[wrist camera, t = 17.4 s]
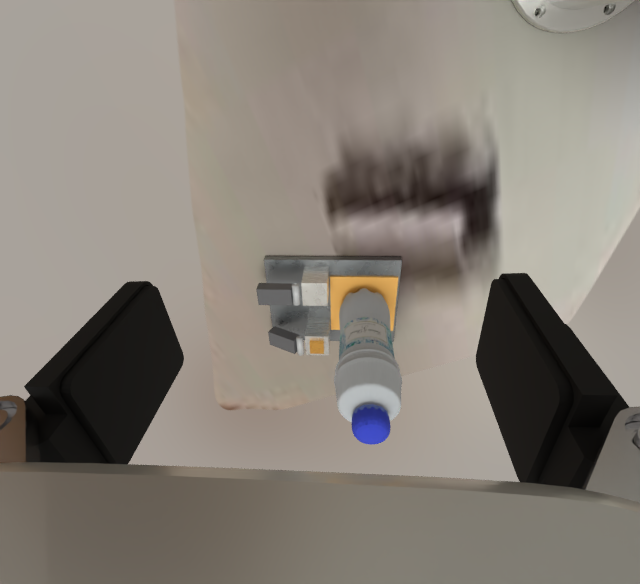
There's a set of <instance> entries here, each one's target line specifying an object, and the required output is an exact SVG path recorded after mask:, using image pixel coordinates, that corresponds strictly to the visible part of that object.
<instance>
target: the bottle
mask: <svg viewBox="0 0 640 584" xmlns="http://www.w3.org/2000/svg"><path fill="white" fill-rule="evenodd" d="M339 324H340V350H339V362H338V364H337V366H336V370H335V374H336V375H335V378H334V384H335V389H336V396H337V405H338V409H339V411H340V413H341V415H342V416H343V417H344V418H345V419H346V420H348V421H350V422H351V423H352V431H353V434H354V436H355V437H356V438H357V439H358V440H359V441H360V442H362V443H365V444H378V443H381V442H383V441H384V440H385V439H386V438H387V437H388V435H389V433H390V421H391V420H392V419H394V418H395V417H396V416H397V415H398V413H399V411H400V408H401V385H402V378H401V374H400V369H399V365H398V364H397V362H396V361H395V358H394V351H393V344H392V337H391V330H390V311H389V308H388V305H387V303H386V301H385V300H384V298H383V296H382V295H381V294H380V293H378V292H375V293H373V292H370V291H369V290H368V289H366V288H362V289H360V291H358V292H356V293H349V294H347V295H346V297H345V299H344V301H343V303H342V305H341V307H340V312H339Z"/></svg>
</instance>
